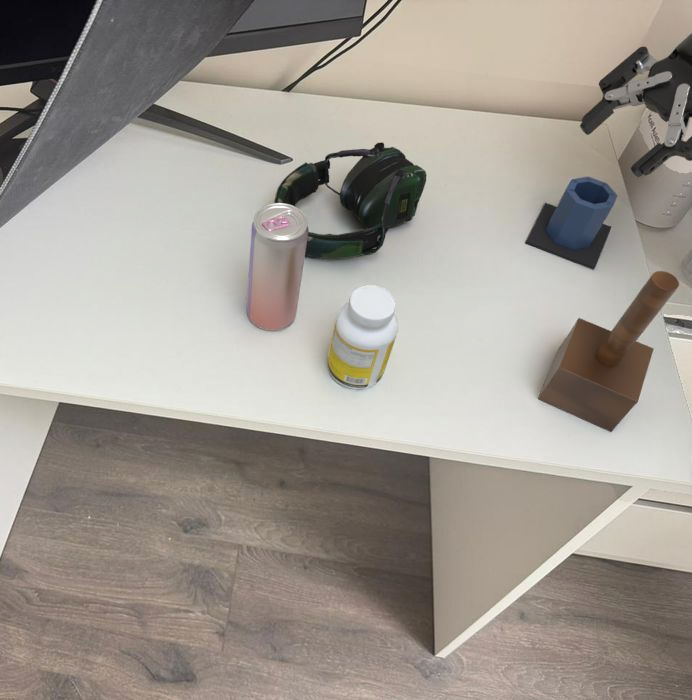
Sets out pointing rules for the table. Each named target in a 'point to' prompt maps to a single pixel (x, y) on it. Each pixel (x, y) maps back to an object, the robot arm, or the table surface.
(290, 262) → the beverage can
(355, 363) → the pill bottle
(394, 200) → the headphones
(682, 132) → the robot arm
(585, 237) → the blue hollow octagonal tube
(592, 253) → the pad
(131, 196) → the table surface
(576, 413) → the stand
